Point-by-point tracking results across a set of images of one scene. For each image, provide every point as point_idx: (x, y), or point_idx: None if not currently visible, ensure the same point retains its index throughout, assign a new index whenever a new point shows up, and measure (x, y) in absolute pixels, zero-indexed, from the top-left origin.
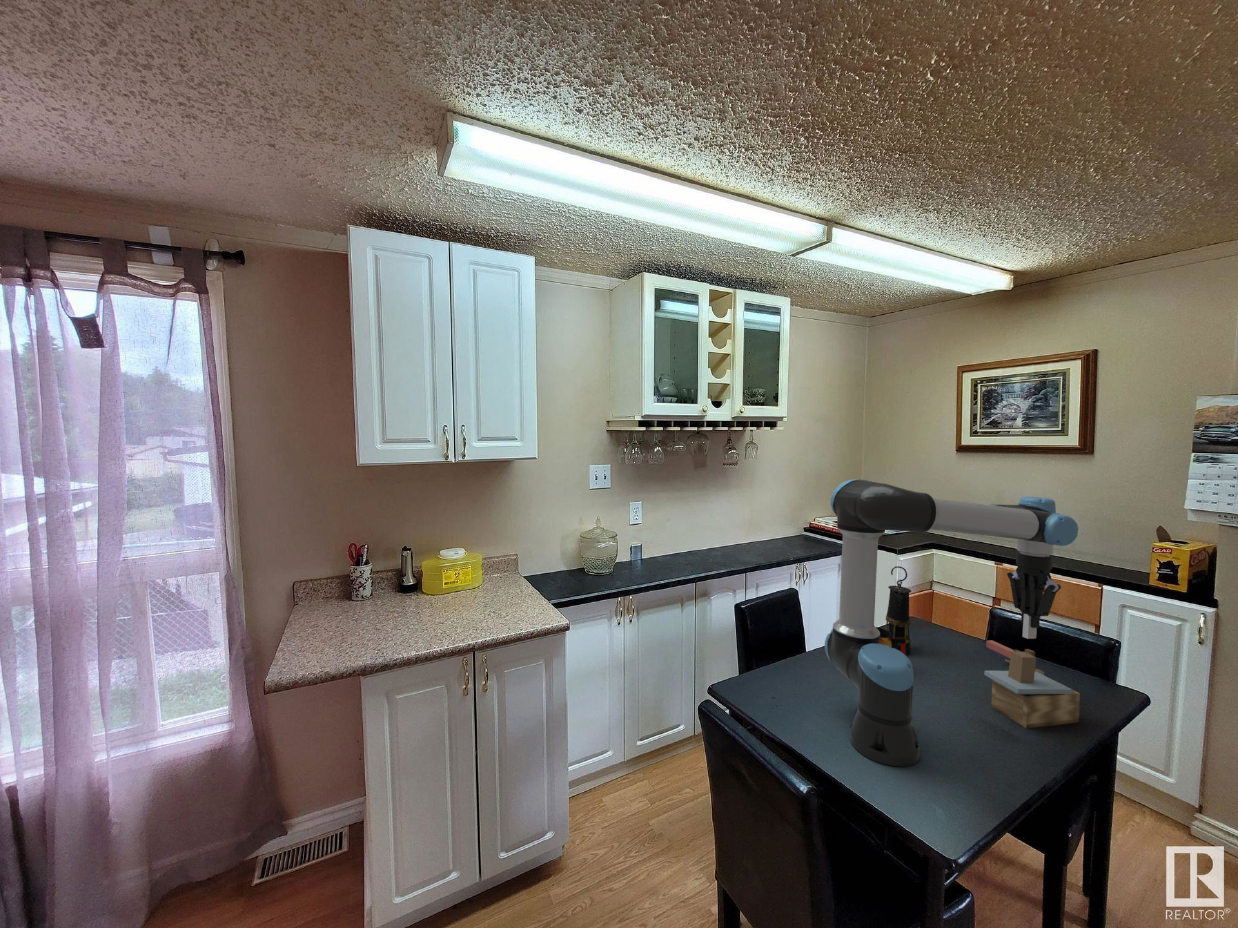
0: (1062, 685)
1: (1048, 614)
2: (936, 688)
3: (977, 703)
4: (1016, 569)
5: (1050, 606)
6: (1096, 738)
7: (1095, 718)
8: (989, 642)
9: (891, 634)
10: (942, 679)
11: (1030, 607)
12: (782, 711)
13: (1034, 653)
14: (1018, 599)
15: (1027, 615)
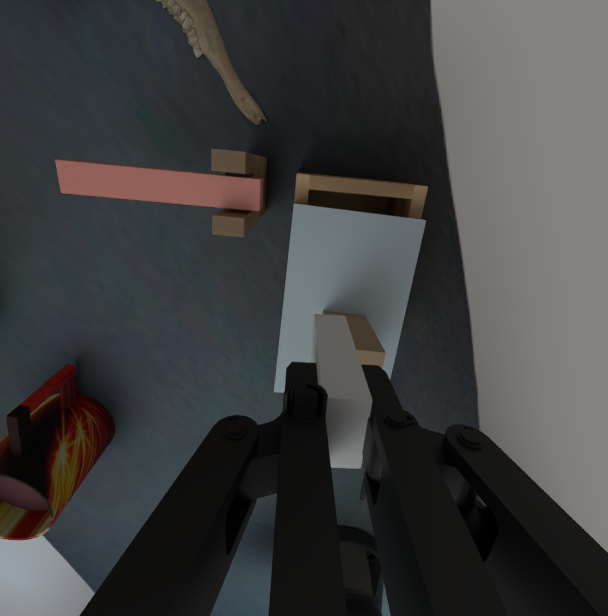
0: (396, 223)
1: (492, 444)
2: (190, 368)
3: (266, 338)
4: None
5: (579, 541)
6: (455, 217)
7: (404, 105)
8: (79, 194)
9: (20, 480)
10: (148, 320)
11: (378, 534)
12: (225, 612)
13: (247, 155)
14: (226, 557)
15: (346, 465)
